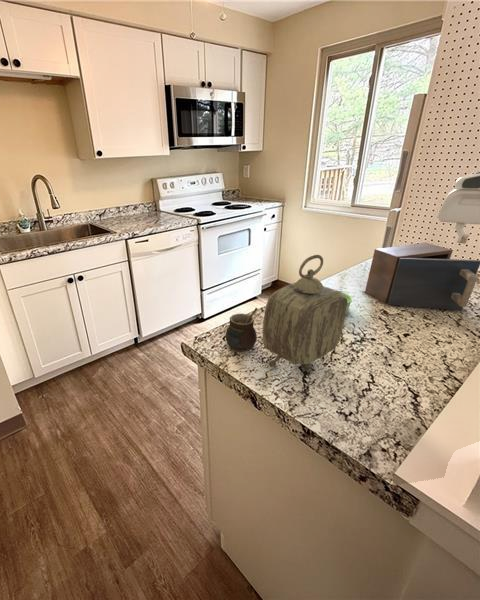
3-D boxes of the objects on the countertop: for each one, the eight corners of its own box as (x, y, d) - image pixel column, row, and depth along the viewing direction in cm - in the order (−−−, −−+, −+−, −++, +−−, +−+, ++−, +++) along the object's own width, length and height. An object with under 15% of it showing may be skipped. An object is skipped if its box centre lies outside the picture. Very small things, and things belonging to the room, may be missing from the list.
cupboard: (437, 296, 90) (453, 249, 84) (385, 303, 89) (397, 256, 83) (412, 286, 97) (425, 242, 91) (364, 292, 96) (374, 248, 90)
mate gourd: (219, 344, 78) (219, 309, 74) (242, 335, 81) (244, 301, 77) (237, 358, 72) (239, 321, 68) (263, 348, 75) (266, 312, 71)
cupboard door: (471, 320, 77) (493, 269, 71) (393, 313, 83) (406, 265, 78) (460, 308, 82) (479, 260, 77) (387, 303, 89) (399, 257, 83)
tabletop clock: (301, 343, 75) (316, 243, 65) (338, 361, 68) (362, 252, 57) (259, 366, 69) (268, 259, 58) (295, 388, 62) (313, 272, 51)
